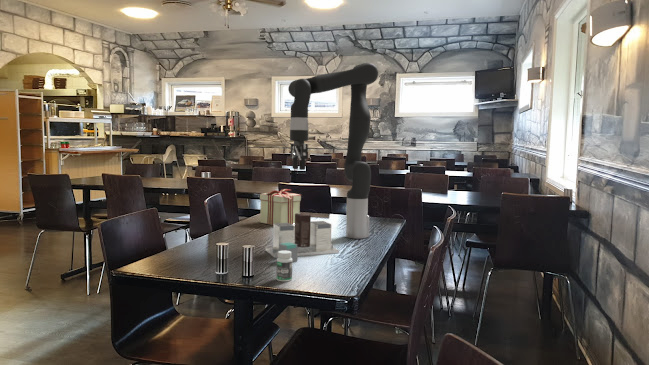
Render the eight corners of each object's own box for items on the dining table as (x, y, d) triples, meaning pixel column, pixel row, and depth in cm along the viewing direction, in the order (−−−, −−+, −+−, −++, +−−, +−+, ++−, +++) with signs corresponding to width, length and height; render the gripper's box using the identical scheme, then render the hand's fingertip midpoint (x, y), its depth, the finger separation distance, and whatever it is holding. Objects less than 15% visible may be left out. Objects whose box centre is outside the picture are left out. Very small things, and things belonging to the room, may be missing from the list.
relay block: (290, 259, 168) (291, 242, 168) (297, 261, 165) (297, 244, 165) (278, 261, 165) (278, 243, 165) (285, 263, 162) (285, 245, 162)
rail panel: (326, 246, 190) (327, 219, 189) (339, 252, 179) (339, 224, 178) (265, 250, 181) (265, 222, 180) (274, 257, 170) (274, 228, 169)
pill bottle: (273, 280, 141) (273, 252, 141) (280, 276, 146) (280, 249, 145) (288, 282, 140) (288, 254, 139) (294, 278, 144) (295, 250, 144)
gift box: (287, 227, 232) (287, 192, 230) (257, 223, 242) (258, 189, 240) (307, 223, 246) (307, 189, 244) (279, 219, 256) (279, 187, 254)
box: (310, 247, 178) (311, 214, 177) (299, 247, 176) (299, 215, 175) (304, 243, 184) (305, 212, 183) (293, 244, 182) (294, 213, 181)
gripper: (314, 129, 189) (313, 170, 191) (301, 129, 202) (301, 168, 204) (296, 128, 187) (295, 170, 188) (284, 129, 200) (284, 168, 201)
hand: (298, 169), depth 196 cm, fingers open, 8 cm apart
